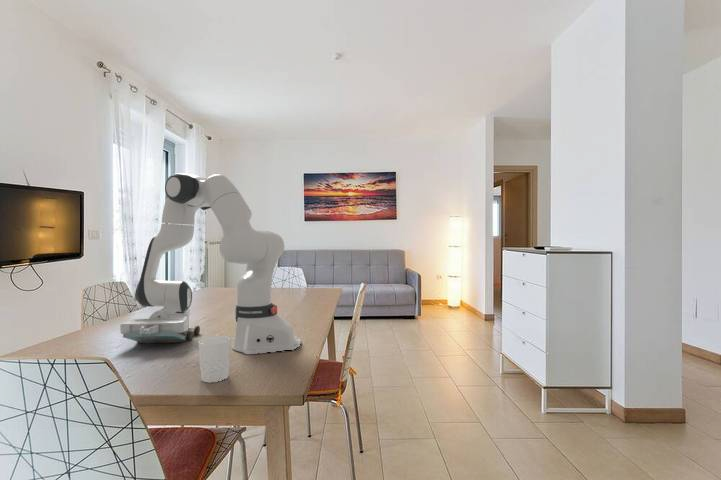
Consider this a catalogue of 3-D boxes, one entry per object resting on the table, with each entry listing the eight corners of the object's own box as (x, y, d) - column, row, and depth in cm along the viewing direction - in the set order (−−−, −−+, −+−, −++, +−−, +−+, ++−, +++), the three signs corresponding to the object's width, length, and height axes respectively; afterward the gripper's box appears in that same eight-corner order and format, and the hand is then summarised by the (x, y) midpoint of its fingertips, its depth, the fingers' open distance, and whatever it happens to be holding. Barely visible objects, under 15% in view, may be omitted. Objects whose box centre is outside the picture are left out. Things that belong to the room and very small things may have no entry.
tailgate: (185, 336, 131) (175, 332, 121) (185, 341, 130) (174, 337, 121) (137, 338, 129) (123, 333, 120) (136, 343, 128) (122, 339, 119)
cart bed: (200, 333, 143) (200, 324, 143) (189, 341, 131) (188, 332, 131) (151, 334, 141) (151, 325, 141) (135, 343, 129) (135, 334, 129)
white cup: (224, 384, 93) (224, 344, 93) (192, 383, 93) (192, 344, 93) (235, 372, 101) (235, 335, 101) (206, 372, 101) (206, 335, 101)
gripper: (132, 313, 130) (109, 322, 116) (192, 312, 132) (177, 321, 118) (132, 331, 130) (109, 342, 116) (193, 330, 132) (177, 341, 118)
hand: (144, 331), depth 117 cm, fingers closed
